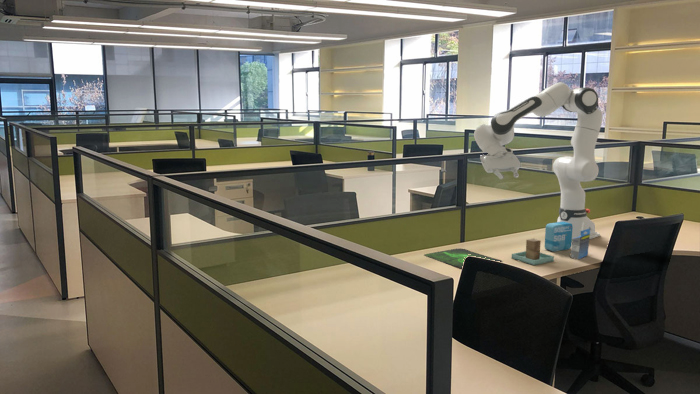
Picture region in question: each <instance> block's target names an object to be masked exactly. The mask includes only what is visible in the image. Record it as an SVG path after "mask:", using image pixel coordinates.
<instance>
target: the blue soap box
mask: <svg viewBox="0 0 700 394" xmlns="http://www.w3.org/2000/svg"><path fill="white" fill-rule="evenodd" d="M572 228H573V226H572V224H571V223H567V222H557V221H556V222H550V223H547V224H546V225H545V231H544V232H545V234H544V249H545V250H547V251H550V252H554V253H555V252H560V251H568V250H571V246H572Z"/></svg>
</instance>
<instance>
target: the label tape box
mask: <svg viewBox="0 0 700 394" xmlns="http://www.w3.org/2000/svg"><path fill="white" fill-rule="evenodd" d="M585 232H587V233H586V234H584V233H585ZM580 235H581V236H579V237H576V238H574V239H572V243H571V248H570V258H572V259H574V258H575V260H580V259H582V258H584V257H586V256H589V245H590V239H589V237H590V228H589V229H586V230H583V231H580Z"/></svg>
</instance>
